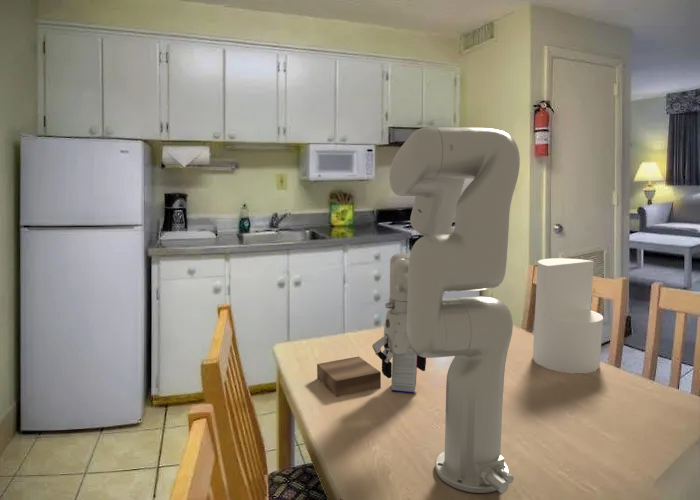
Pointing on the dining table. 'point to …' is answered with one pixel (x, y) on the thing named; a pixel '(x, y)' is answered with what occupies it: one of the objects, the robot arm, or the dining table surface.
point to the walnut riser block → (348, 376)
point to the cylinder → (566, 317)
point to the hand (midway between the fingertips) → (404, 372)
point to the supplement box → (404, 372)
